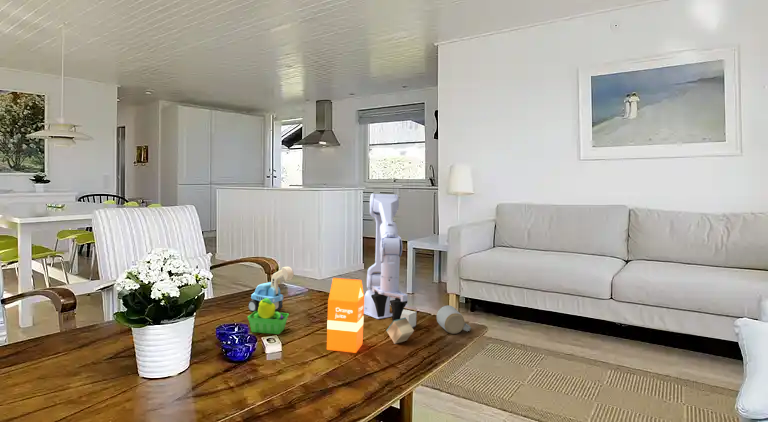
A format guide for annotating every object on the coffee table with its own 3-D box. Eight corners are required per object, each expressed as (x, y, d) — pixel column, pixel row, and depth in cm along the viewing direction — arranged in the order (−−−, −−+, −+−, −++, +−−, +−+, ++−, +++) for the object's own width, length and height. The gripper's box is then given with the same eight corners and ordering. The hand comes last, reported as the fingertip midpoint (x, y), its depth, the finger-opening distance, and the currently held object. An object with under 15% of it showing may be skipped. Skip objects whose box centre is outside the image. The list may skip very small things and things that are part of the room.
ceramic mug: (444, 335, 150) (445, 311, 149) (435, 327, 158) (436, 305, 157) (474, 334, 153) (476, 311, 152) (464, 326, 160) (466, 304, 160)
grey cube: (395, 326, 157) (396, 312, 157) (403, 323, 161) (403, 309, 161) (408, 330, 155) (408, 315, 154) (415, 326, 159) (416, 311, 158)
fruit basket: (289, 328, 152) (290, 293, 151) (280, 337, 143) (281, 300, 142) (255, 326, 153) (255, 291, 152) (244, 334, 144) (245, 298, 143)
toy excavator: (280, 318, 162) (281, 269, 161) (245, 310, 170) (246, 263, 169) (297, 313, 169) (298, 266, 168) (262, 305, 177) (263, 260, 176)
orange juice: (356, 352, 132) (358, 282, 131) (326, 349, 134) (328, 280, 133) (362, 343, 140) (365, 277, 139) (334, 340, 142) (336, 275, 140)
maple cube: (393, 320, 141) (402, 333, 138) (405, 317, 144) (414, 330, 141) (386, 330, 143) (394, 343, 141) (398, 327, 147) (406, 340, 144)
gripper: (365, 273, 148) (363, 315, 149) (395, 282, 137) (394, 327, 138) (382, 271, 153) (380, 312, 154) (413, 279, 142) (411, 323, 143)
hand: (388, 319), depth 146 cm, fingers open, 7 cm apart
